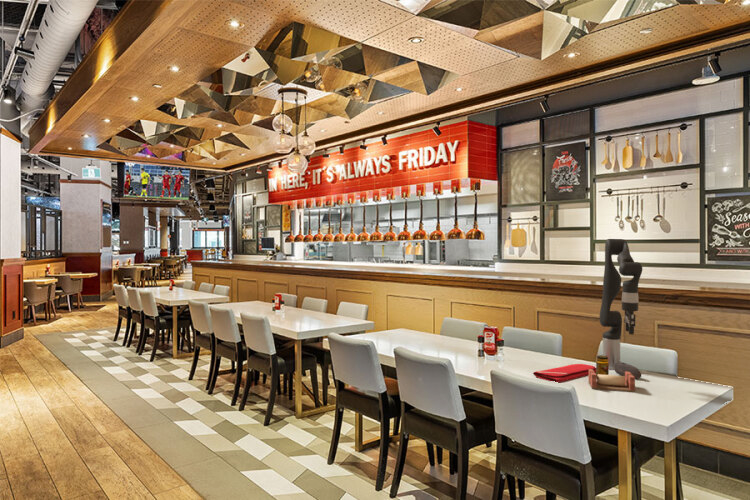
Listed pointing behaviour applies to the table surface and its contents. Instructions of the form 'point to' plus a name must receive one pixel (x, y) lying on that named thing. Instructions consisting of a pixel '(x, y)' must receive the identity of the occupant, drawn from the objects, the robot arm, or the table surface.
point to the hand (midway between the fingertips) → (629, 332)
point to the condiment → (602, 365)
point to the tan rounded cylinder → (610, 380)
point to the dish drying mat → (564, 372)
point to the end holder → (627, 388)
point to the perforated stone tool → (627, 369)
